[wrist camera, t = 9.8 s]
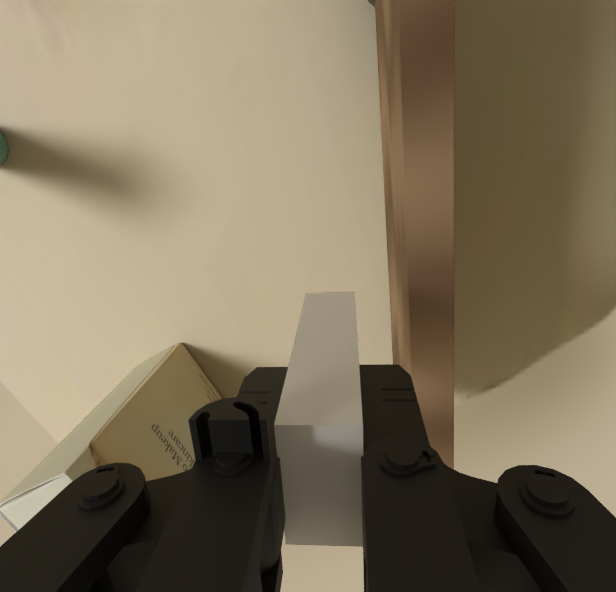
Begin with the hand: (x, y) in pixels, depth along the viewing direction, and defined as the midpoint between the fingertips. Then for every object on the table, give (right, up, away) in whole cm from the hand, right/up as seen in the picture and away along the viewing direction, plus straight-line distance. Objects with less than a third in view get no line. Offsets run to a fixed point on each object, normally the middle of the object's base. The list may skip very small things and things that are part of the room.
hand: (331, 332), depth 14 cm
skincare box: (-9, -5, +16) cm, 19 cm away
